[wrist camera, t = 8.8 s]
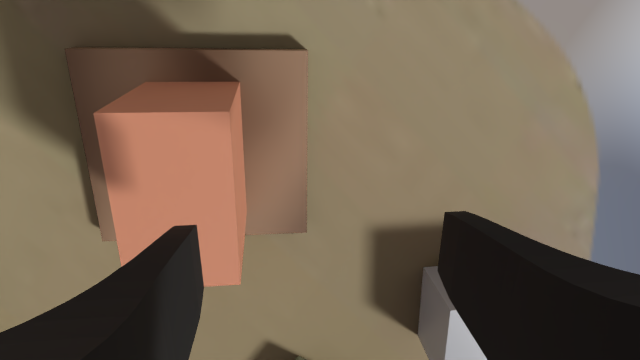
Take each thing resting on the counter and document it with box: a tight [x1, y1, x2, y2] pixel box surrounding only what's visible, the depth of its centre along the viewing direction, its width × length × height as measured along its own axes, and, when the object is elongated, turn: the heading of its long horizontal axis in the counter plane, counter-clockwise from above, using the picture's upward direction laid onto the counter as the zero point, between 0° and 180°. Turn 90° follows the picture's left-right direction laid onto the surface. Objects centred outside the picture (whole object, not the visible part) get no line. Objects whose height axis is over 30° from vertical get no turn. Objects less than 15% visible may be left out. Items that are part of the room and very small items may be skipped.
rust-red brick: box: [93, 82, 247, 287], centre depth 17 cm, size 4×6×6 cm, turn 179°
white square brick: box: [418, 266, 487, 360], centre depth 24 cm, size 5×5×4 cm
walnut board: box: [65, 47, 308, 241], centre depth 20 cm, size 10×9×1 cm
